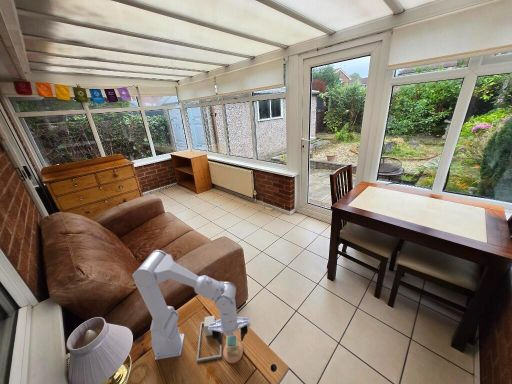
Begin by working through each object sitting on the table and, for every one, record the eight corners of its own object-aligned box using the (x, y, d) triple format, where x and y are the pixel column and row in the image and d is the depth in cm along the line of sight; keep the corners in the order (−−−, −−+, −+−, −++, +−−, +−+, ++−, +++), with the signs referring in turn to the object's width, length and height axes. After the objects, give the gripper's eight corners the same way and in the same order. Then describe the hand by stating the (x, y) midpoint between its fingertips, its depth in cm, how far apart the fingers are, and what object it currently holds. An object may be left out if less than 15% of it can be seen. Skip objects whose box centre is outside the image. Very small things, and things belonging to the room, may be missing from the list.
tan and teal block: (227, 357, 76) (226, 347, 73) (227, 345, 79) (226, 335, 77) (238, 355, 76) (237, 345, 74) (238, 344, 80) (236, 334, 77)
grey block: (205, 336, 84) (203, 326, 82) (206, 326, 88) (204, 317, 85) (215, 334, 84) (214, 324, 82) (216, 325, 88) (214, 315, 86)
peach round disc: (223, 365, 74) (223, 363, 74) (223, 343, 81) (223, 341, 81) (243, 361, 75) (243, 359, 75) (242, 339, 82) (242, 338, 82)
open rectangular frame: (196, 362, 75) (196, 360, 75) (201, 323, 89) (200, 322, 88) (221, 357, 76) (221, 356, 76) (222, 320, 90) (221, 319, 89)
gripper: (205, 329, 65) (211, 355, 71) (250, 322, 67) (252, 348, 72) (207, 309, 72) (212, 334, 77) (248, 303, 74) (250, 328, 79)
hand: (231, 340), depth 75 cm, fingers open, 7 cm apart
